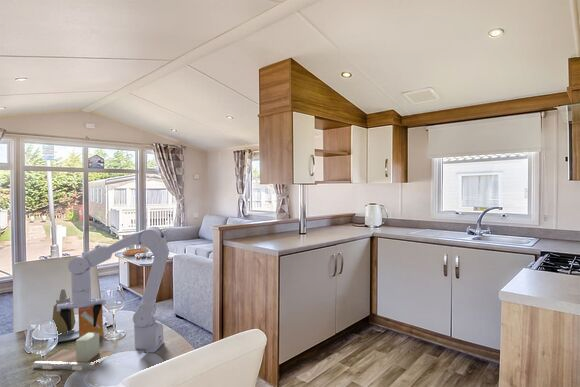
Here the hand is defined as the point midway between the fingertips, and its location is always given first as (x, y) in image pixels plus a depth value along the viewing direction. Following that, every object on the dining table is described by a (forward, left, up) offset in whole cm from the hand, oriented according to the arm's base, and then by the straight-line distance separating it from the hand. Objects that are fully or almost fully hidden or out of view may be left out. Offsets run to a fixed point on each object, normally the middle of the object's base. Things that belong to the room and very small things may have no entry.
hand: (82, 327), depth 117 cm
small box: (+5, -12, -10) cm, 16 cm away
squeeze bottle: (+20, -16, -10) cm, 28 cm away
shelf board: (-2, +5, -10) cm, 11 cm away
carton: (-5, +4, -8) cm, 10 cm away
